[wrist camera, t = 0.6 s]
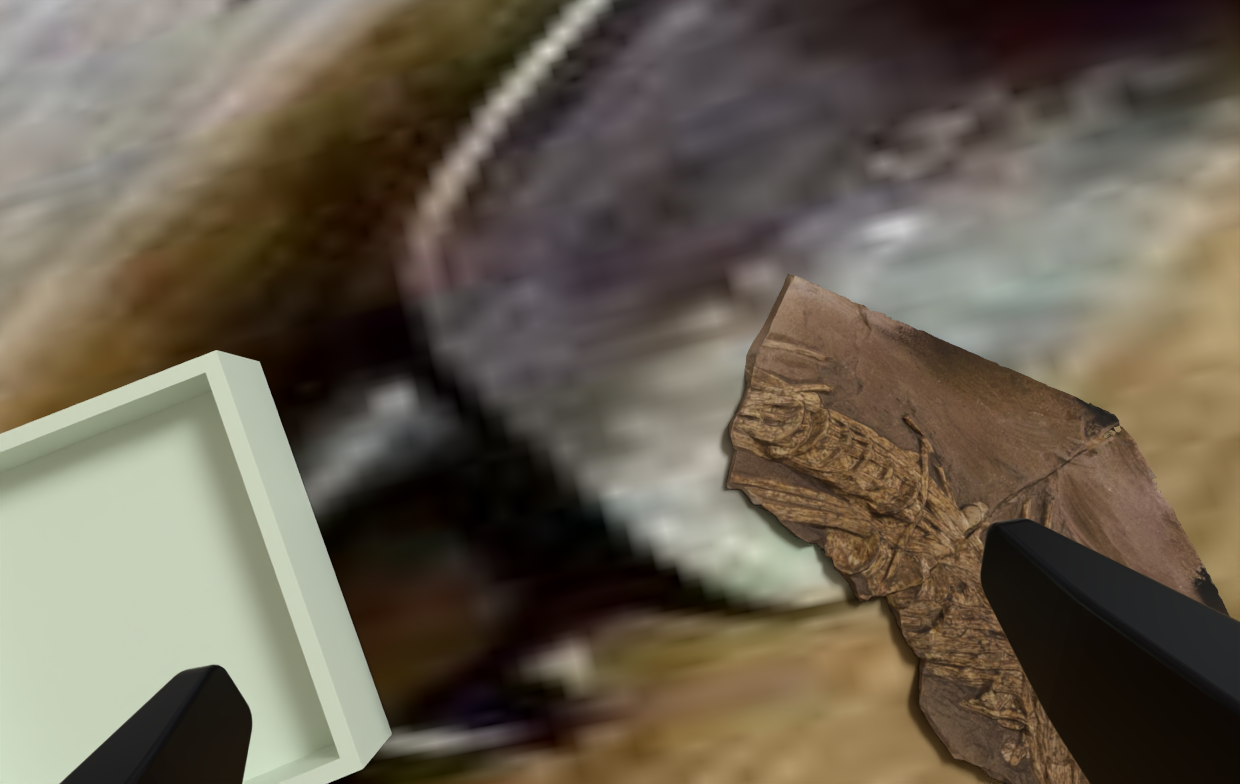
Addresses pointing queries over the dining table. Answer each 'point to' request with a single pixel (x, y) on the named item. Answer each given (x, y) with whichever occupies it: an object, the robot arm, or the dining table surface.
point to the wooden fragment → (942, 499)
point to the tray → (172, 578)
